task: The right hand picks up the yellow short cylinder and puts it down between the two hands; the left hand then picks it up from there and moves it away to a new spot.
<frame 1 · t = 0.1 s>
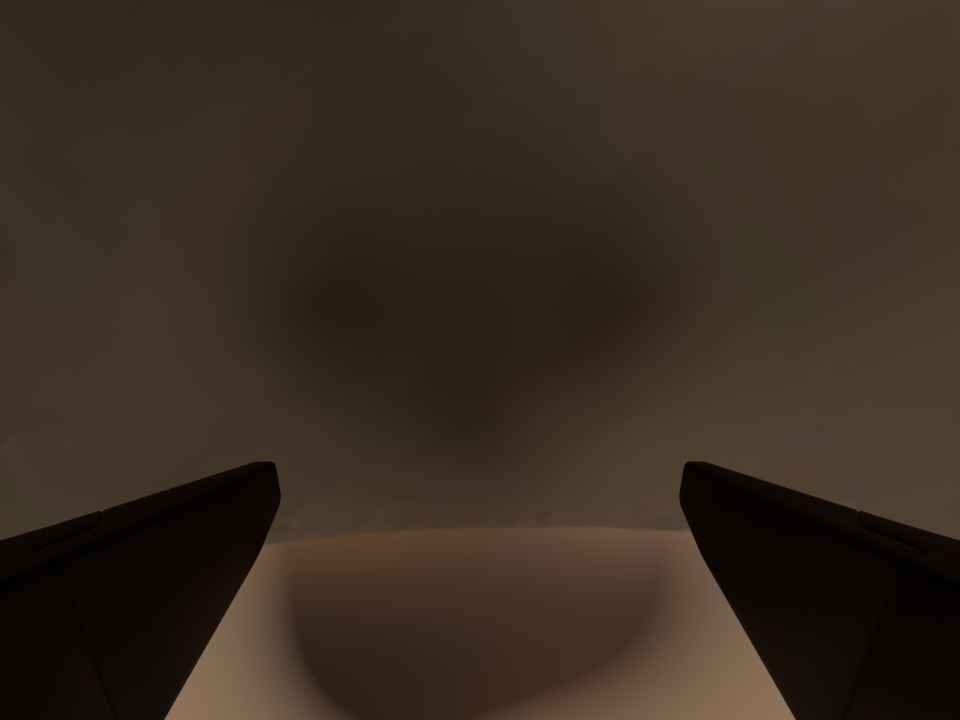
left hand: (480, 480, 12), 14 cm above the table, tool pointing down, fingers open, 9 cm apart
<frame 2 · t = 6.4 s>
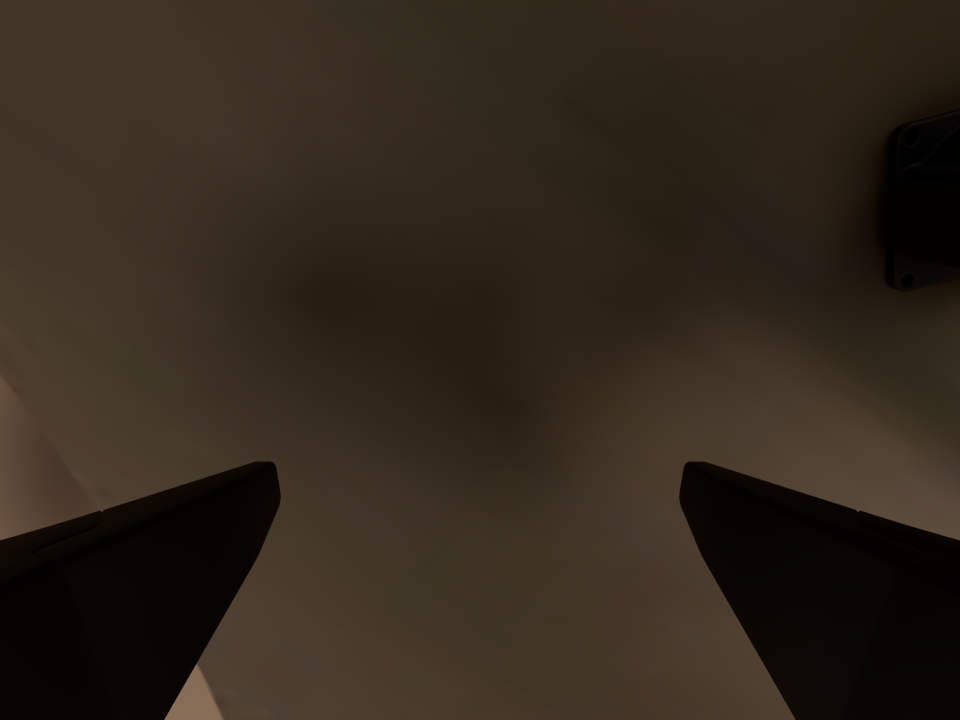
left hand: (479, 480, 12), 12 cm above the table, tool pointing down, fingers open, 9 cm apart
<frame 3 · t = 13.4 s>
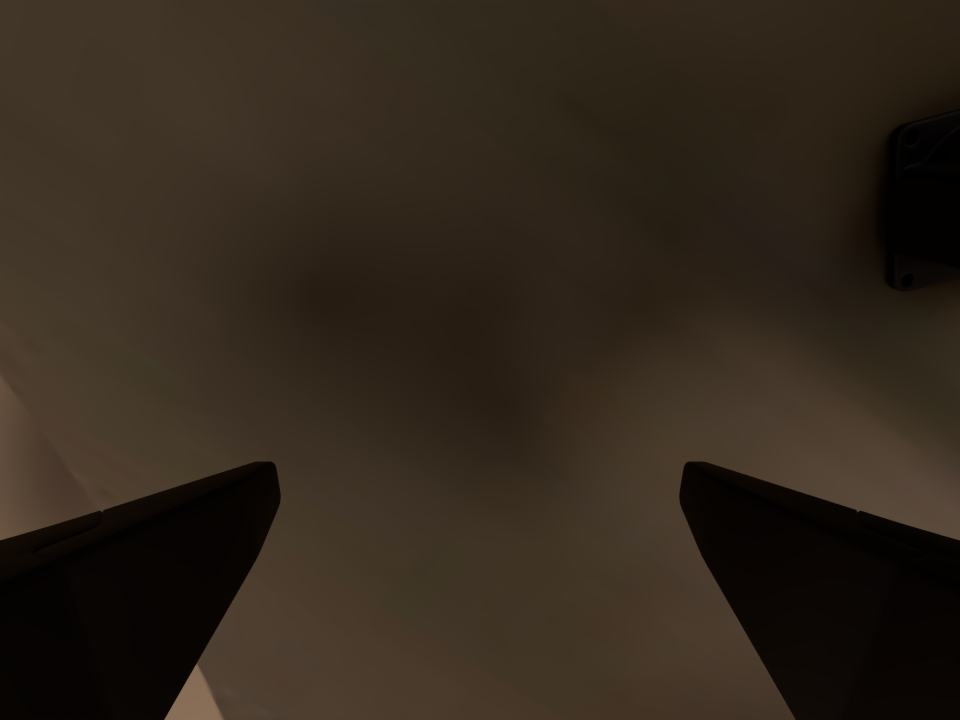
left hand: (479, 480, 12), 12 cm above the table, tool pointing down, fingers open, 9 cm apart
when the right hand's fingers open (1 cm above the table, at t = 20.4 s): yellow short cylinder stays where it is, on the table.
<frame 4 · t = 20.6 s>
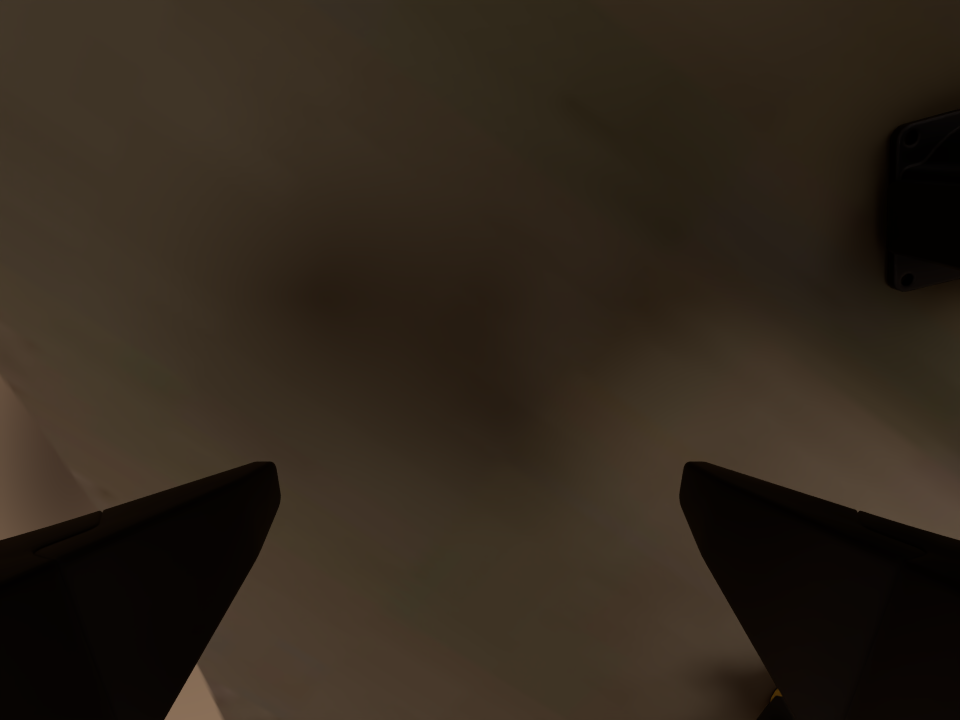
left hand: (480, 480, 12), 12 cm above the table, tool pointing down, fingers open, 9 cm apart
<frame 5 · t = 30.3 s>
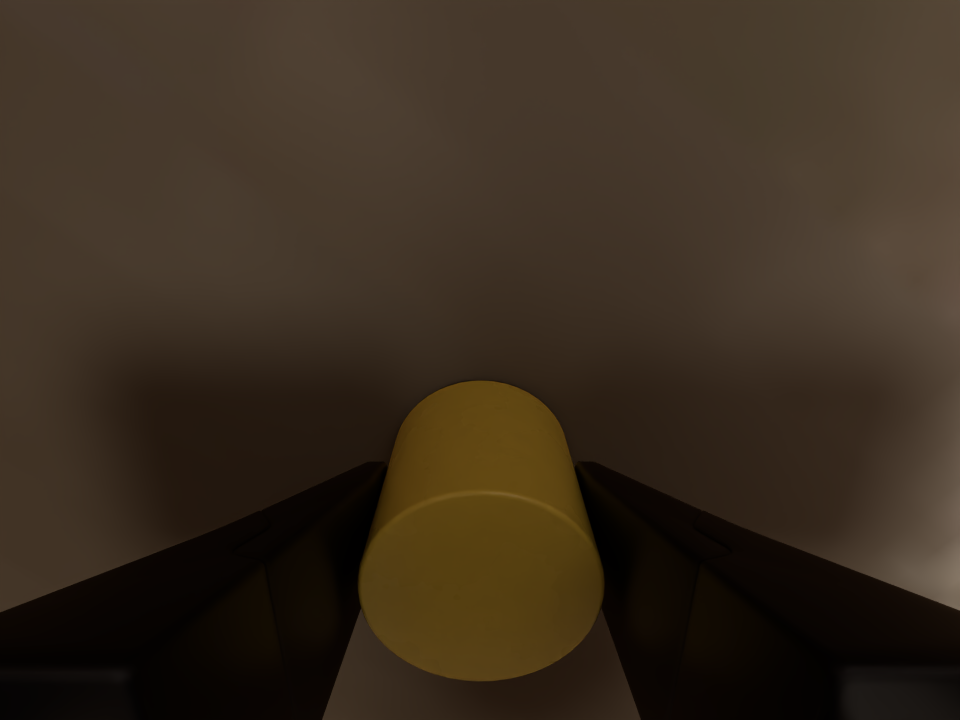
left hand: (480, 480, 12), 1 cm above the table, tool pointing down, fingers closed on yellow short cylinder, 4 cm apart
yellow short cylinder: (480, 457, 13), on the table, touching left hand
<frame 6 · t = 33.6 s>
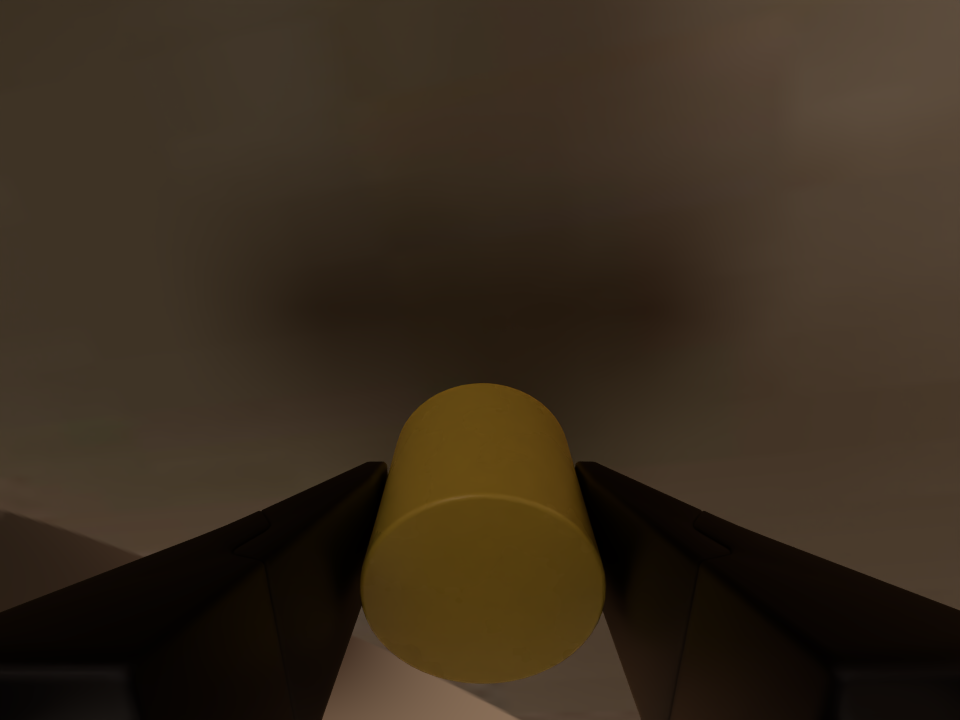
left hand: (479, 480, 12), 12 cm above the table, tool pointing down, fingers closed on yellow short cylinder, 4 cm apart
yellow short cylinder: (482, 460, 13), point 11 cm above the table, touching left hand
when the left hand's fingers open (2 cm above the table, at t = 37.0 s): yellow short cylinder drops 1 cm, on the table.
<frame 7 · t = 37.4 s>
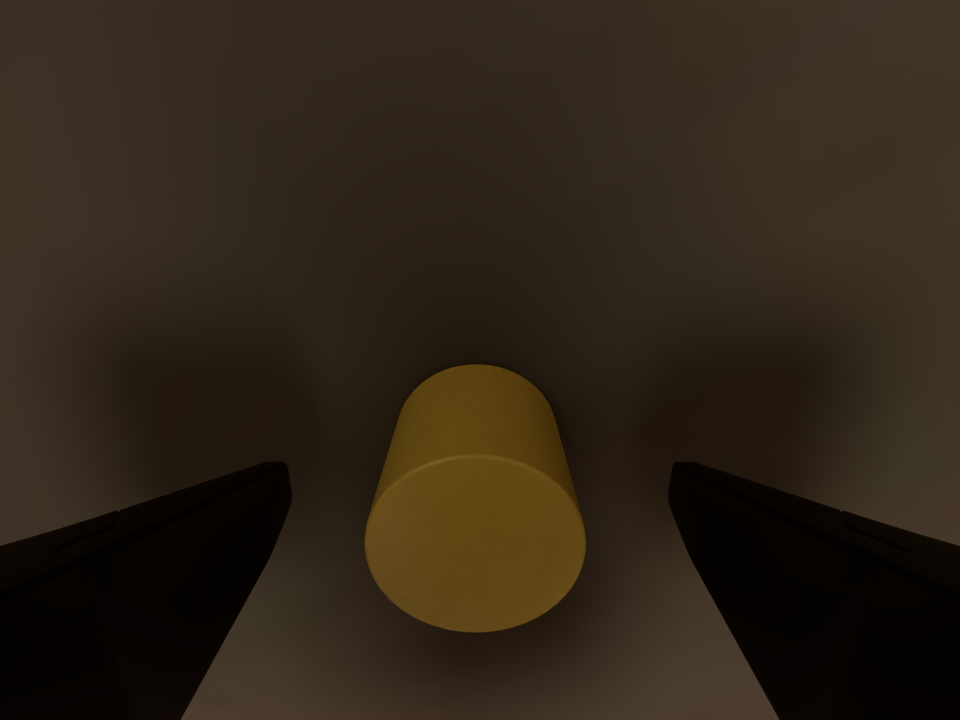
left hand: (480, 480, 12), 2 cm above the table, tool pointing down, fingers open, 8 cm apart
yellow short cylinder: (476, 436, 14), on the table
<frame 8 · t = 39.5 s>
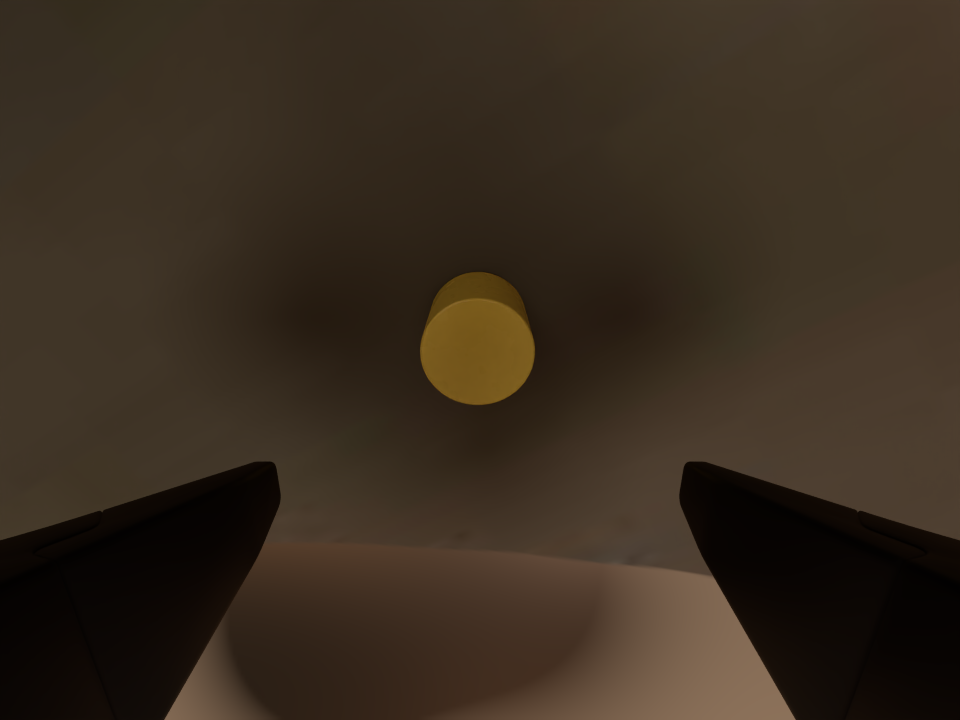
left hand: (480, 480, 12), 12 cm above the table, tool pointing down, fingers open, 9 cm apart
yellow short cylinder: (478, 318, 23), on the table
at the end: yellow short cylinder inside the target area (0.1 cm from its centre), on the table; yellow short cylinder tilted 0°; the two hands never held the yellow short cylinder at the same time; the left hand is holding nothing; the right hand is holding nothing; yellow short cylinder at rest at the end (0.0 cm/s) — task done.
